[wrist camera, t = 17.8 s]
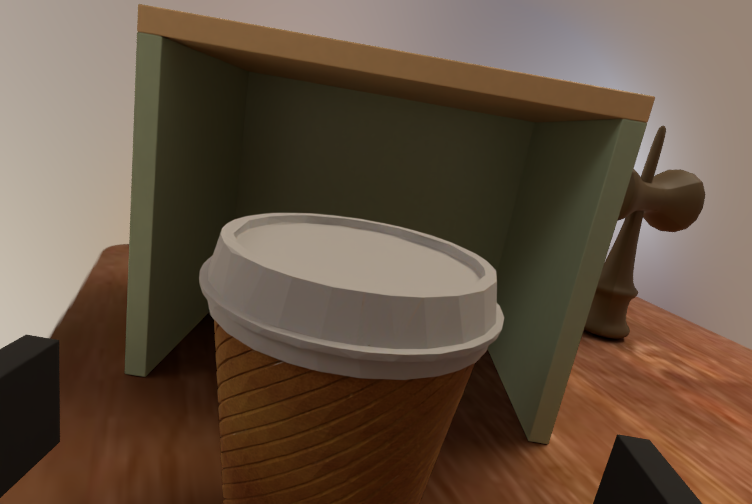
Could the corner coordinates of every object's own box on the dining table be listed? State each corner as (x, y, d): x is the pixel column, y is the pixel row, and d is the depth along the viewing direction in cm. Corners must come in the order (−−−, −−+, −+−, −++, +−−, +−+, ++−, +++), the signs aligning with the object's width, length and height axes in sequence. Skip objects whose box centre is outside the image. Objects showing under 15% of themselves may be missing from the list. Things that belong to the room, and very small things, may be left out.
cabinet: (548, 445, 27) (656, 96, 22) (124, 374, 26) (137, 3, 22) (492, 333, 42) (549, 109, 37) (218, 286, 41) (239, 54, 36)
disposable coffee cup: (485, 638, 16) (586, 306, 13) (175, 743, 12) (214, 303, 9) (378, 448, 24) (424, 221, 21) (176, 473, 20) (196, 199, 17)
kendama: (657, 344, 46) (731, 137, 41) (585, 346, 42) (657, 118, 37) (608, 318, 51) (668, 131, 46) (540, 318, 47) (597, 114, 42)
